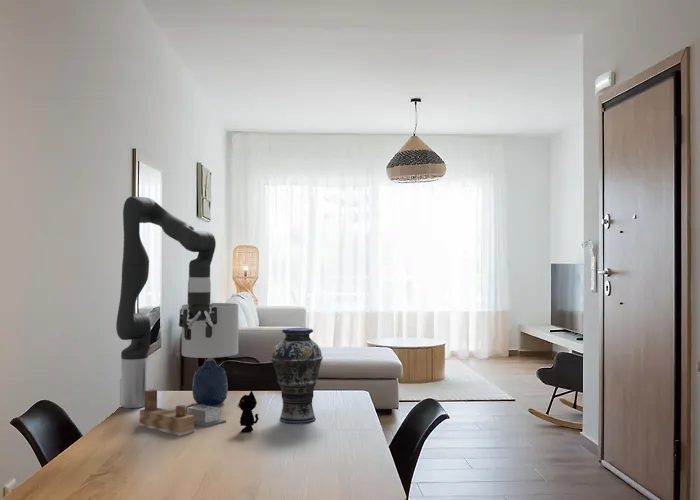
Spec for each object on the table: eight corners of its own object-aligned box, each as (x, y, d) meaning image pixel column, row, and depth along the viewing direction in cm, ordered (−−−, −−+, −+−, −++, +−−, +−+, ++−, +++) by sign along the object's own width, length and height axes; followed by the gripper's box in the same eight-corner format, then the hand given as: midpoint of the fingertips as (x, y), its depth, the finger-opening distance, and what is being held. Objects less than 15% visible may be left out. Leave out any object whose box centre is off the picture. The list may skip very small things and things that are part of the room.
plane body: (139, 425, 222) (139, 391, 222) (154, 422, 226) (154, 388, 226) (179, 435, 210) (179, 399, 210) (194, 432, 214) (194, 396, 214)
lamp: (232, 410, 245) (232, 305, 245) (175, 409, 245) (175, 305, 245) (242, 398, 265) (242, 301, 265) (189, 398, 265) (189, 301, 266)
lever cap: (186, 419, 227) (187, 405, 227) (201, 416, 232) (201, 402, 232) (205, 423, 222) (205, 409, 222) (219, 420, 227) (219, 406, 227)
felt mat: (180, 421, 227) (180, 420, 227) (201, 416, 234) (201, 415, 234) (204, 427, 220) (204, 425, 220) (226, 422, 227) (226, 420, 227)
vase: (261, 423, 225) (261, 330, 225) (286, 412, 241) (286, 325, 241) (308, 428, 219) (308, 332, 219) (330, 416, 235) (330, 327, 235)
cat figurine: (241, 427, 219) (241, 389, 220) (262, 428, 218) (262, 390, 218) (233, 433, 213) (233, 393, 213) (254, 434, 211) (254, 394, 211)
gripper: (208, 289, 242) (207, 335, 242) (174, 290, 231) (173, 339, 231) (222, 290, 237) (221, 338, 238) (189, 292, 226) (188, 341, 226)
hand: (198, 338), depth 234 cm, fingers open, 8 cm apart
